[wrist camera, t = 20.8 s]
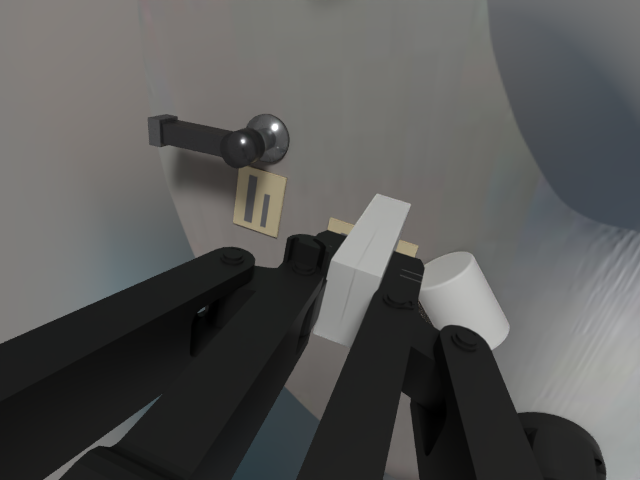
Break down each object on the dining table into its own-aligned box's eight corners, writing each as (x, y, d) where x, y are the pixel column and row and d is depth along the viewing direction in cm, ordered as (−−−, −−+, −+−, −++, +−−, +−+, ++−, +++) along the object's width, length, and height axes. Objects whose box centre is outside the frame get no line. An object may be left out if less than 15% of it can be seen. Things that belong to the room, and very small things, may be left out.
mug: (473, 243, 50) (473, 273, 43) (507, 309, 52) (513, 348, 45) (386, 276, 55) (375, 307, 48) (420, 334, 57) (413, 372, 50)
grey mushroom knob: (285, 166, 54) (270, 174, 50) (244, 154, 55) (227, 161, 51) (292, 120, 51) (277, 126, 47) (249, 108, 52) (231, 112, 48)
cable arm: (266, 131, 47) (252, 136, 44) (264, 164, 49) (250, 171, 46) (166, 110, 50) (146, 114, 47) (167, 142, 52) (149, 148, 49)
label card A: (277, 236, 58) (276, 238, 58) (234, 222, 60) (232, 223, 59) (287, 178, 54) (285, 178, 54) (240, 163, 56) (239, 164, 55)
